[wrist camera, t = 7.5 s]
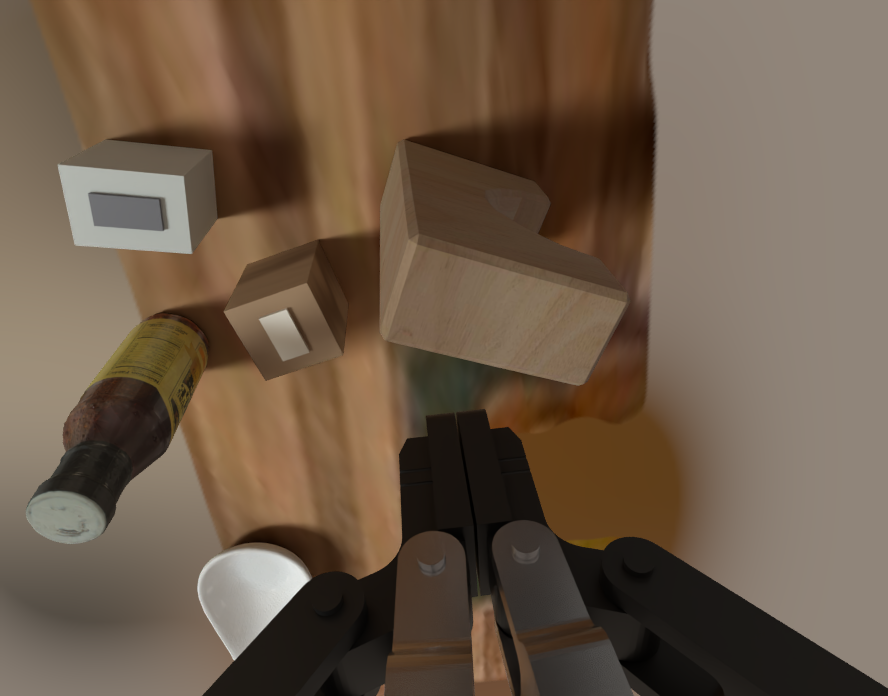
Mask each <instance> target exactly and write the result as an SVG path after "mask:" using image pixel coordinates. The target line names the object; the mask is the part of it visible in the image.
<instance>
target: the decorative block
mask: <svg viewBox="0 0 888 696" xmlns="http://www.w3.org/2000/svg"><path fill="white" fill-rule="evenodd" d="M550 204H551V203H550V200H549V198H548V197H547V196H546V194H545V193H544V192H543V191H542V190H541V188H540V187H539V186H538V185H537V184H536V182H535V181H532V180H529V179H525V178H522V177H519V176H516V175H513V174H510V173H507V172H504V171H501V170H498V169H495V168H491V167H488V166H485V165H482V164H479V163H476V162H473V161H470V160H467V159H463V158H460V157H457V156H454V155H451V154H448V153H445V152H442V151H438V150H435V149H432V148H429V147H426V146H423V145H420V144H417V143H414V142H410V141H407V140H402V141H400V142H398V143H397V147H396V151H395V154H394V158H393V161H392V165H391V169H390V172H389V176H388V179H387V183H386V187H385V190H384V194H383V197H382V201H381V205H380V334H381V335H382V337H383V338H384V340H385V341H389V342H393V343H397V344H402V345H406V346H410V347H414V348H419V349H423V350H427V351H431V352H436V353H440V354H444V355H448V356H453V357H457V358H461V359H465V360H470V361H474V362H478V363H482V364H486V365H491V366H495V367H499V368H504V369H508V370H512V371H517V372H521V373H525V374H530V375H534V376H538V377H543V378H547V379H552V380H556V381H560V382H565V383H569V384H573V385H578V386H579V385H582V384H584V383H586V382H587V381H588V380H589V378H590V376H591V374H592V372H593V370H594V368H595V367H596V365H597V363H598V361H599V359H600V357H601V355H602V354H603V352H604V350H605V348H606V346H607V344H608V342H609V340H610V339H611V337H612V335H613V333H614V331H615V329H616V327H617V326H618V324H619V322H620V320H621V318H622V316H623V314H624V313H625V311H626V309H627V307H628V305H629V303H630V298H629V296H628V293H627V292H626V291H625V289H624V288H623V287H622V286H621V284H620V283H619V282H618V281H617V280H616V278H615V277H614V276H613V275H612V274H611V272H610V271H609V270H608V269H607V268H606V266H605V265H604V264H603V263H602V262H601V260H600V259H598V258H595V257H592V256H590V255H587V254H584V253H581V252H579V251H576V250H573V249H570V248H568V247H565V246H562V245H559V244H557V243H555V242H553V241H551V240H549V239H547V238H545V237H543V236H541V235H539V234H538V233H539V230H540V228H541V226H542V223H543V221H544V219H545V216H546V214H547V212H548V209H549V207H550Z"/></svg>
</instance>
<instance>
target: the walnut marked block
mask: <svg viewBox="0 0 888 696" xmlns="http://www.w3.org/2000/svg"><path fill="white" fill-rule="evenodd" d="M348 306H349V304H348V302H347V300H346V298H345V295H344V293H343V291H342V289H341V287H340V285H339V283H338V281H337V278H336V276H335V274H334V272H333V270H332V268H331V266H330V264H329V261H328V259H327V257H326V255H325V253H324V251H323V249H322V247H321V244H320V242H319V240H315V241H313V242H310V243H307V244H304V245H301V246H298V247H296V248H293V249H290V250H287V251H284V252H281V253H278V254H276V255H273V256H270V257H267V258H264V259H261V260H259V261H256V262H253V263H250V264H247V266H246V268H245V270H244V272H243V274H242V276H241V278H240V280H239V282H238V284H237V286H236V288H235V290H234V292H233V294H232V296H231V298H230V300H229V302H228V304H227V306H226V308H225V310H224V313H225V315H226V317H227V318H228V320H229V322H230V323H231V325H232V327H233V328H234V330H235V331H236V333H237V335H238V336H239V338H240V340H241V341H242V343H243V345H244V346H245V348H246V350H247V351H248V353H249V354H250V356H251V358H252V359H253V361H254V363H255V364H256V366H257V368H258V369H259V371H260V372H261V374H262V376H263V377H264V379H265V381H267V380H270V379H273V378H276V377H279V376H282V375H285V374H288V373H291V372H294V371H297V370H300V369H303V368H306V367H309V366H312V365H315V364H318V363H321V362H324V361H327V360H330V359H333V358H336V357H339V356H342V355H343V353H344V343H345V334H346V325H347V315H348Z"/></svg>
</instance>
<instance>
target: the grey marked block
mask: <svg viewBox="0 0 888 696" xmlns="http://www.w3.org/2000/svg"><path fill="white" fill-rule="evenodd" d="M58 169H59V173H60V178H61V183H62V187H63V192H64V196H65V201H66V206H67V210H68V215H69V220H70V225H71V229H72V233H73V238H74V243H75V245H78V246H92V247H105V248H119V249H132V250H146V251H160V252H173V253H187V254H192V253H193V252H194V250H195V249H196V248H197V246H198V245H199V244H200V242H201V241H202V239H203V238H204V237H205V235H206V234H207V233H208V231H209V230H210V229H211V227H212V226H213V224H214V223H215V222H216V220H217V219H218V217H217V204H216V192H215V179H214V167H213V155H212V150H206V149H196V148H186V147H176V146H166V145H156V144H146V143H136V142H126V141H116V140H104V141H102V142H100V143H98V144H96V145H94V146H92V147H90V148H88V149H86V150H85V151H83V152H81V153H79V154H77V155H75V156H73V157H71V158H69V159H67V160H65V161H64V162H61V163H60V164H58Z"/></svg>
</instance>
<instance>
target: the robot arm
mask: <svg viewBox="0 0 888 696" xmlns="http://www.w3.org/2000/svg"><path fill="white" fill-rule="evenodd" d="M456 417H457V425H456V419H455V414H454V413H446V414H437V415H428V416H426V422H427V432H428V436H427V437H418V438H409V439H407V440H406V442H405V444H404V446H403V448H402V450H401V452H400V454H399V464H400V486H401V488H400V490H401V515H402V544H401V547H400V550H399V552H398V553H397V555H396V557H395V558H394V559H393V560H392V561H391V562H390V563H389V564H388V565H387V566H386V567H384V568H383V569H381V570H379V571H377V572H375V573H373V574H371V575H368V576H366V577H364V578H362V579H359V580H357V579H356V578H355V577H353V576H352V575H350V574H347V573H344V572H328V573H323V574H321V575H318V576H316V577H314V578H312V579H311V580H310V581H308V582H307V583H306V584H305V585H304V586H303V587H302V588H301V589H300V590H299V591H298V592H297V593H296V594H295V595H294V596H293V598H292V599H291V600H290V601H289V602H288V603H287V604H286V605H285V606H284V607H283V608H282V610H281V611H280V612H279V613H278V614H277V615H276V616H275V617H274V618H273V619H272V620H271V621H270V623H269V624H268V625H267V626H266V627H265V628H264V629H263V630H262V631H261V632H260V633H259V635H258V636H257V637H256V638H255V639H254V640H253V641H252V642H251V643H250V644H249V645H248V646H247V648H246V649H245V650H244V651H243V652H242V653H241V654H240V655H239V656H238V657H237V658H236V660H235V661H234V662H233V663H232V664H231V665H230V666H229V667H228V668H227V669H226V671H225V672H224V673H223V674H222V675H221V676H220V677H219V678H218V679H217V680H216V682H214V683H213V685H212V686H211V687H210V688H209V689H208V690H207V691H206V692H205V693H204V694H203V696H376V695H377V693H378V691H379V689H380V686H381V685H383V684H385V692H384V696H475V692H474V674H473V657H472V640H471V630H472V627H473V611H472V597H476V596H478V592H477V576H478V582H479V588H480V594H481V596H482V595H490V594H491V598H492V603H493V609H494V624H495V632H496V635H497V639H498V643H499V647H500V651H501V655H502V659H503V663H504V666H505V670H506V674H507V678H508V682H509V686H510V689H511V693H512V696H634V695H633V693H632V690H631V688H632V689H633V690H634V691H635V692H636V693H638V694H639V695H640V696H888V688H886V687H885V686H883V685H882V684H880V683H878V682H877V681H875V680H873V679H872V678H870V677H869V676H867V675H865V674H864V673H862V672H861V671H859V670H857V669H856V668H854V667H853V666H851V665H849V664H848V663H846V662H845V661H843V660H841V659H840V658H838V657H836V656H835V655H833V654H832V653H830V652H828V651H827V650H825V649H824V648H822V647H820V646H819V645H817V644H816V643H814V642H812V641H810V640H809V639H807V638H806V637H804V636H803V635H801V634H799V633H798V632H796V631H795V630H793V629H791V628H790V627H788V626H787V625H785V624H783V623H782V622H780V621H778V620H777V619H775V618H774V617H772V616H771V615H769V614H767V613H766V612H764V611H763V610H761V609H759V608H758V607H756V606H754V605H753V604H751V603H749V602H748V601H746V600H745V599H743V598H742V597H740V596H738V595H737V594H735V593H734V592H732V591H730V590H728V589H727V588H725V587H724V586H722V585H721V584H719V583H718V582H716V581H714V580H712V579H711V578H709V577H708V576H706V575H705V574H703V573H701V572H700V571H698V570H696V569H695V568H693V567H692V566H690V565H689V564H687V563H685V562H684V561H682V560H681V559H679V558H677V557H676V556H674V555H673V554H671V553H669V552H668V551H666V550H664V549H663V548H661V547H660V546H658V545H656V544H655V543H653V542H651V541H648V540H646V539H642V538H637V537H624V538H619V539H617V540H614V541H613V542H611V543H610V544H609V545H607V547H606V548H605V549H604V550H598V549H592V548H585V547H580V546H576V545H573V544H570V543H568V542H566V541H564V540H562V539H561V538H559V537H558V536H557V535H556V534H554V533H553V531H552V530H551V529H550V528H549V526H548V525H547V522H546V520H545V517H544V514H543V511H542V507H541V504H540V501H539V497H538V494H537V491H536V488H535V485H534V481H533V478H532V475H531V472H530V468H529V465H528V461H527V459H526V455H525V452H524V448H523V445H522V442H521V440H520V439H519V438H518V437H517V435H516V434H515V433H514V432H513V431H512V430H511V429H510V428H509V427H505V428H496V429H490V426H489V422H488V418H487V414H486V410H485V409H481V410H472V411H463V412H457V413H456ZM476 570H477V575H476Z"/></svg>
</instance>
